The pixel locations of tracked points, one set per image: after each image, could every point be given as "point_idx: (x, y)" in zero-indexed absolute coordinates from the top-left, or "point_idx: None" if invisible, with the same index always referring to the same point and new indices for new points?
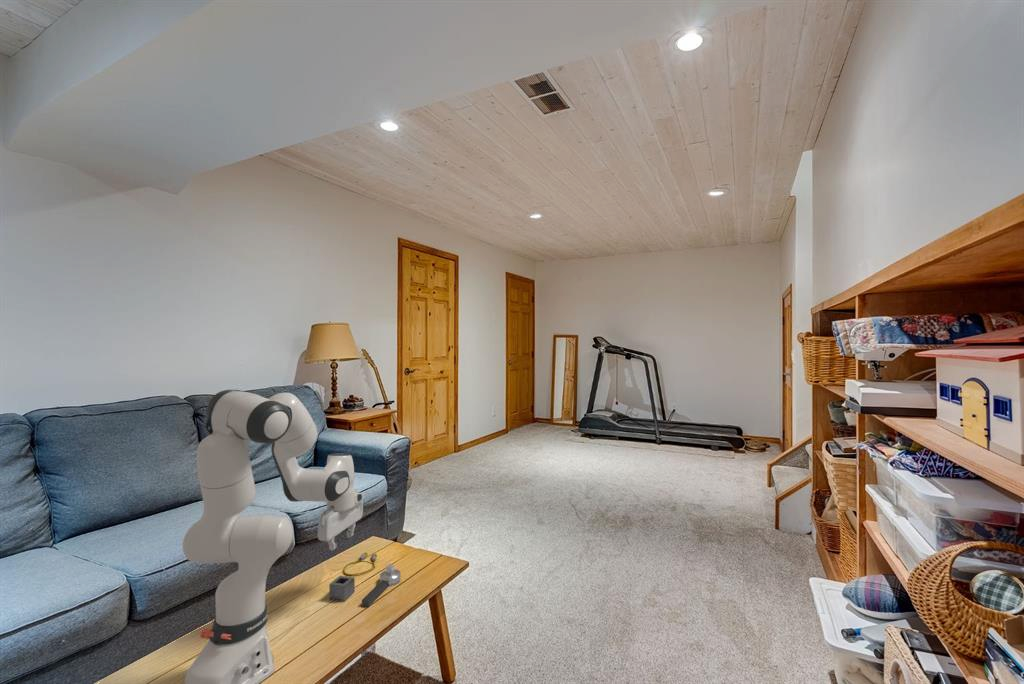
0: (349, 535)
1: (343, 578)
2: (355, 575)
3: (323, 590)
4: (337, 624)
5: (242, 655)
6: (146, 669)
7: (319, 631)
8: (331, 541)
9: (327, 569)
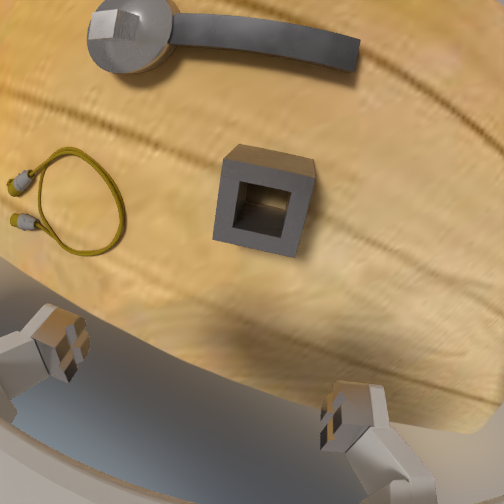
0: (73, 339)
1: (234, 212)
2: (119, 195)
3: (232, 271)
4: (464, 139)
5: None
6: (476, 426)
7: (489, 190)
8: (422, 475)
9: (109, 302)
